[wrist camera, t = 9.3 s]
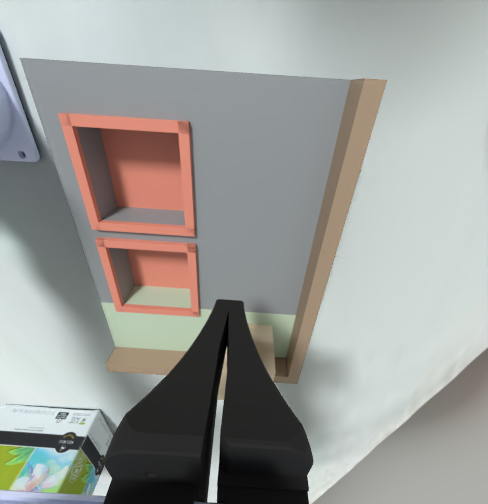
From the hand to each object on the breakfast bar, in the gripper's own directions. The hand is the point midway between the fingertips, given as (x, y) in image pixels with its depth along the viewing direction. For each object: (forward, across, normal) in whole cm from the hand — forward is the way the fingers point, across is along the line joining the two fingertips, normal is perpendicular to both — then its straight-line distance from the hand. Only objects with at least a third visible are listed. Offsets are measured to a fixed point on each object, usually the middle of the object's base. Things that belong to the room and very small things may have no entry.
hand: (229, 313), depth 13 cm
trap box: (+10, +2, +1) cm, 10 cm away
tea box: (+10, +26, +37) cm, 46 cm away
